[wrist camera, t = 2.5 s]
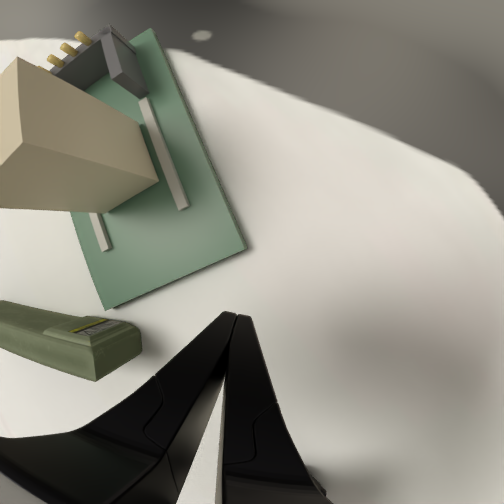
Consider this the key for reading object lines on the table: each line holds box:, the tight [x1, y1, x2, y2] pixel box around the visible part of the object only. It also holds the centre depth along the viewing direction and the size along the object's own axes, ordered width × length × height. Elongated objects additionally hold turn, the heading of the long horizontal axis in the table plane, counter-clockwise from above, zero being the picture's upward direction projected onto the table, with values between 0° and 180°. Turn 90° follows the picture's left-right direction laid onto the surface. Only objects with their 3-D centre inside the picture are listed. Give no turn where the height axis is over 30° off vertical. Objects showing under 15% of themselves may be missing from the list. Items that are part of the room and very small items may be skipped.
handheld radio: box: [0, 300, 142, 382], centre depth 22 cm, size 7×3×25 cm
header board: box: [37, 24, 247, 311], centre depth 19 cm, size 20×12×6 cm, turn 24°
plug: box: [0, 57, 159, 214], centre depth 14 cm, size 5×5×13 cm
